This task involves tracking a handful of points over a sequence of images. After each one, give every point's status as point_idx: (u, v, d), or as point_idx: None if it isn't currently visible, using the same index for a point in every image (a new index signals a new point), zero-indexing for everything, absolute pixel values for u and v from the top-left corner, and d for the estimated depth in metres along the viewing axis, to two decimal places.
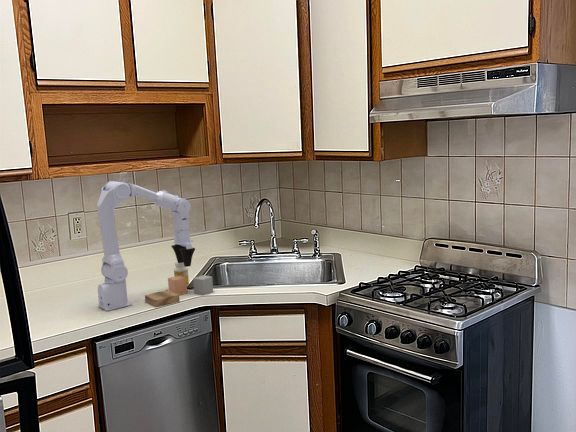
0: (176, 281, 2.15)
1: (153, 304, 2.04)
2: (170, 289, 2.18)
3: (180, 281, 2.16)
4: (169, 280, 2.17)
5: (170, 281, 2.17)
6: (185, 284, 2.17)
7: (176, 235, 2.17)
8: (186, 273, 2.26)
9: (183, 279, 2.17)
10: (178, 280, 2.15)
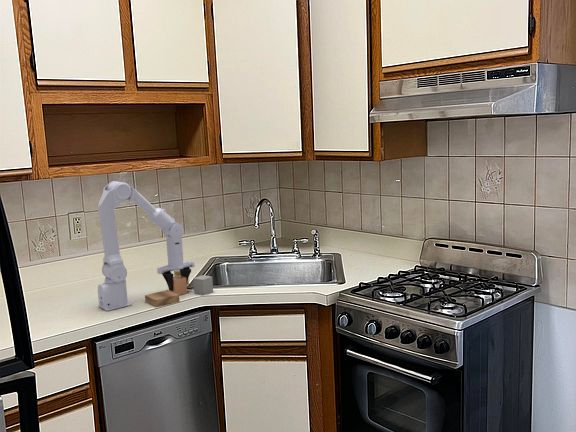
0: (176, 281, 2.15)
1: (153, 304, 2.04)
2: None
3: (180, 281, 2.16)
4: None
5: None
6: (185, 284, 2.17)
7: None
8: None
9: (183, 279, 2.17)
10: (178, 280, 2.15)
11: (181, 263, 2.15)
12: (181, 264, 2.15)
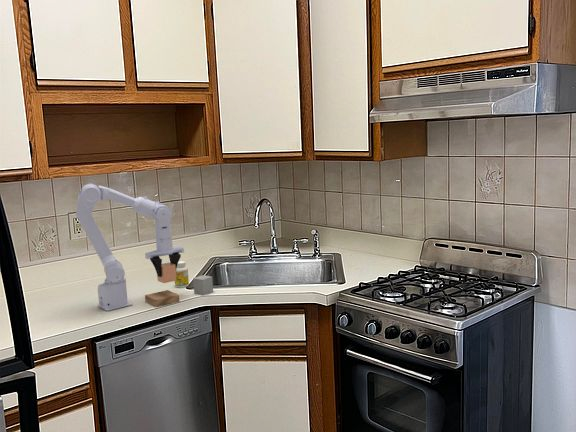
0: (165, 268, 2.08)
1: (153, 304, 2.04)
2: None
3: (169, 268, 2.09)
4: None
5: None
6: (174, 271, 2.10)
7: None
8: (186, 273, 2.26)
9: (172, 266, 2.09)
10: (167, 267, 2.08)
11: (170, 248, 2.08)
12: (170, 249, 2.08)
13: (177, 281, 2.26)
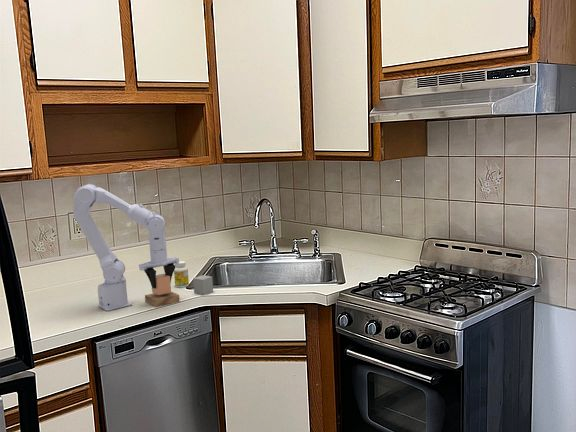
0: (159, 280, 2.04)
1: (153, 304, 2.04)
2: (153, 288, 2.07)
3: (163, 280, 2.05)
4: None
5: None
6: (169, 283, 2.06)
7: None
8: (186, 273, 2.26)
9: (167, 277, 2.06)
10: (161, 278, 2.04)
11: (164, 259, 2.04)
12: (164, 260, 2.04)
13: (177, 281, 2.26)
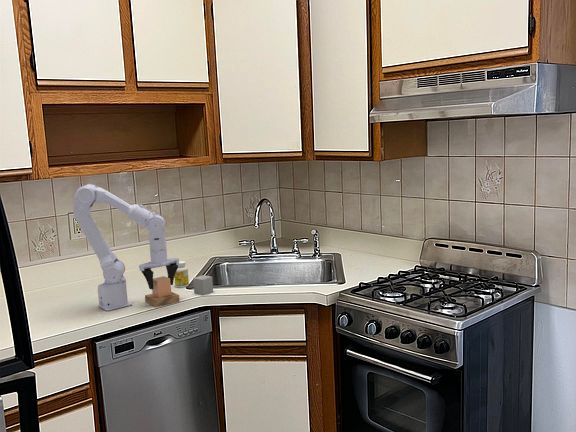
0: (159, 282, 2.04)
1: (153, 304, 2.04)
2: (153, 291, 2.07)
3: (164, 282, 2.05)
4: None
5: (153, 282, 2.06)
6: (169, 285, 2.07)
7: None
8: (186, 273, 2.26)
9: (167, 280, 2.06)
10: (161, 281, 2.05)
11: (164, 259, 2.04)
12: (164, 260, 2.04)
13: (177, 281, 2.26)
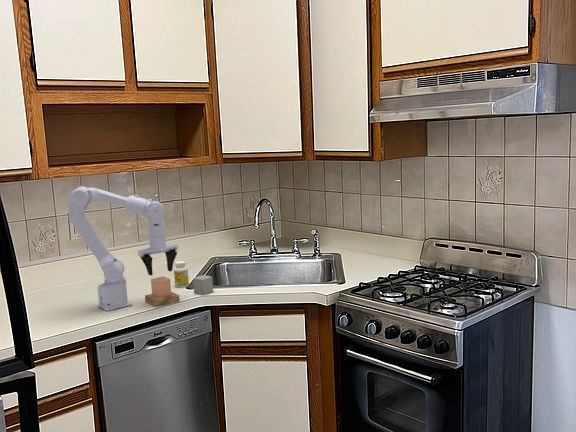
0: (159, 282, 2.04)
1: (153, 304, 2.04)
2: (153, 291, 2.07)
3: (164, 282, 2.05)
4: (152, 281, 2.06)
5: (153, 282, 2.06)
6: (169, 285, 2.06)
7: None
8: (186, 273, 2.26)
9: (167, 280, 2.06)
10: (162, 281, 2.04)
11: (163, 245, 2.05)
12: (163, 246, 2.05)
13: (177, 281, 2.26)
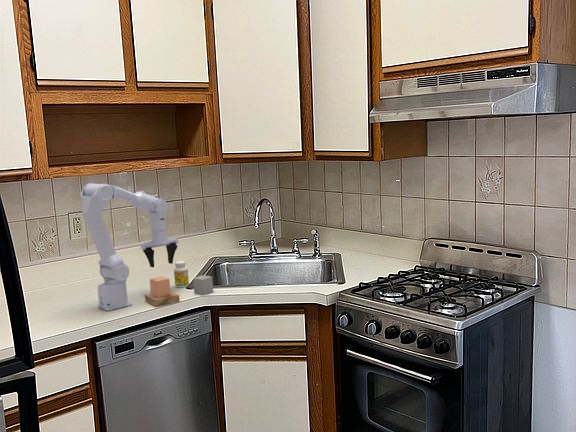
0: (159, 282, 2.04)
1: (153, 304, 2.04)
2: (152, 291, 2.06)
3: (163, 282, 2.05)
4: (151, 281, 2.06)
5: (152, 282, 2.06)
6: (168, 285, 2.07)
7: None
8: (186, 273, 2.26)
9: (166, 280, 2.06)
10: (161, 281, 2.04)
11: (164, 239, 2.17)
12: (164, 240, 2.17)
13: (177, 281, 2.26)
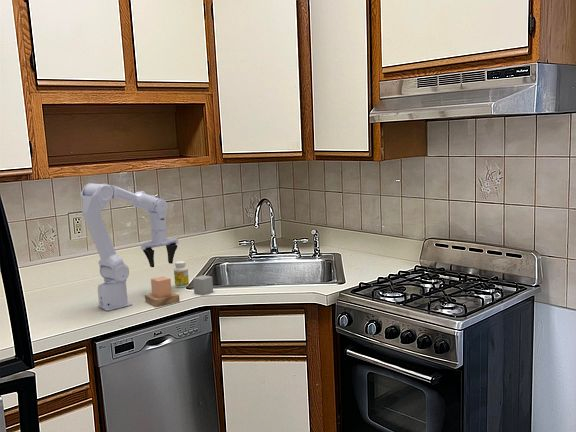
0: (160, 282, 2.04)
1: (153, 304, 2.04)
2: (153, 291, 2.06)
3: (164, 282, 2.05)
4: (152, 281, 2.06)
5: (153, 282, 2.06)
6: (169, 285, 2.07)
7: None
8: (186, 273, 2.26)
9: (167, 280, 2.06)
10: (162, 281, 2.04)
11: (164, 239, 2.17)
12: (164, 240, 2.17)
13: (177, 281, 2.26)
